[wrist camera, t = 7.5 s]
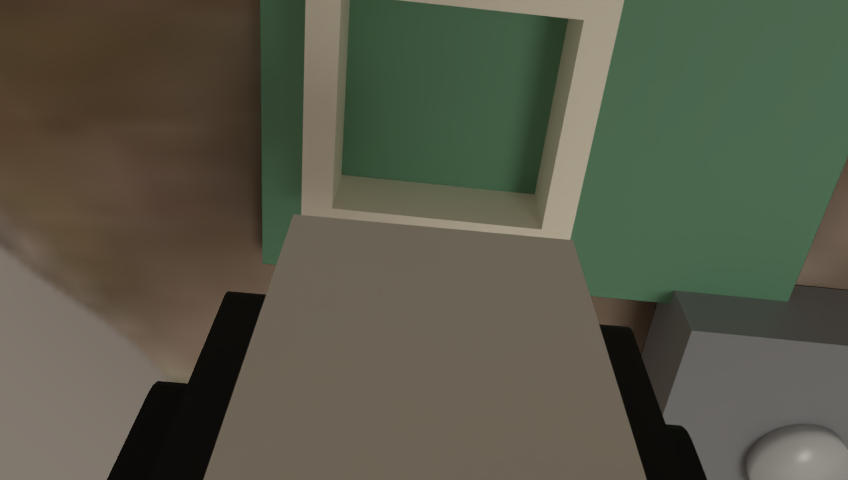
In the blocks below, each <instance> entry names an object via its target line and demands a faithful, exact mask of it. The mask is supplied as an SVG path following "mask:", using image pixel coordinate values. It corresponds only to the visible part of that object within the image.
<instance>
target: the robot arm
mask: <svg viewBox="0 0 848 480" xmlns="http://www.w3.org/2000/svg"><path fill="white" fill-rule="evenodd" d="M265 297H266V295H263V294H252V293H241V292H230V291H228V292H227V293H226V294H225V296H224V298H223V301H222V303H221V306H220V308H219V310H218V313H217V315H216V317H215V320H214V322H213V325H212V327H211V329H210V332H209V334H208V337H207V339H206V341H205V344H204V346H203V349H202V351H201V353H200V356H199V358H198V361H197V363H196V365H195V368H194V370H193V373H192V375H191V377H190V380H189V382H188V384H185V383H174V382H162V381H158V382H156V383H155V384H154V385H153V386H152V388H151V389H150V391H149V393H148V395H147V397H146V399H145V401H144V403H143V405H142V407H141V409H140V412H139V414H138V416H137V418H136V420H135V422H134V424H133V426H132V428H131V431H130V432H129V435H128V437H127V439H126V441H125V443H124V445H123V447H122V449H121V451H120V454H119V456H118V458H117V460H116V462H115V464H114V466H113V468H112V470H111V472H110V474H109V477H108V479H107V480H203V479H204V476H205V473H206V470H207V467H208V464H209V462H210V459H211V456H212V453H213V450H214V447H215V444H216V441H217V438H218V435H219V432H220V429H221V426H222V423H223V420H224V417H225V414H226V411H227V409H228V406H229V403H230V400H231V397H232V394H233V391H234V388H235V385H236V382H237V379H238V376H239V373H240V370H241V367H242V364H243V361H244V358H245V355H246V353H247V350H248V347H249V344H250V341H251V338H252V335H253V332H254V329H255V326H256V323H257V320H258V317H259V314H260V311H261V308H262V305H263V302H264V300H265ZM599 326H600V329H601V332H602V336H603V339H604V342H605V345H606V349H607V352H608V355H609V358H610V362H611V365H612V368H613V371H614V375H615V378H616V381H617V385H618V388H619V391H620V394H621V398H622V401H623V404H624V407H625V411H626V414H627V417H628V420H629V424H630V427H631V430H632V433H633V437H634V440H635V443H636V446H637V450H638V453H639V456H640V459H641V463H642V466H643V469H644V472H645V476H646V479H647V480H707V478H706V475H705V472H704V470H703V467H702V465H701V462H700V460H699V457H698V454H697V452H696V449H695V447H694V444H693V442H692V439H691V437H690V435H689V433H688V432H687V430H686V429H685V428H684V427H683V426H681V425H670V424H665V421H664V418H663V415H662V412H661V410H660V407H659V404H658V401H657V398H656V396H655V393H654V390H653V387H652V385H651V382H650V379H649V376H648V373H647V371H646V368H645V365H644V362H643V359H642V357H641V354H640V351H639V348H638V346H637V343H636V340H635V337H634V334H633V332H632V330H631V328H629V327H623V326H612V325H600V324H599Z"/></svg>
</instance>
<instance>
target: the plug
mask: <svg viewBox="0 0 848 480" xmlns="http://www.w3.org/2000/svg"><path fill="white" fill-rule="evenodd" d="M203 480H647V479H646V476H645V472H644V469H643V466H642V463H641V459H640V456H639V453H638V450H637V446H636V443H635V440H634V437H633V433H632V430H631V427H630V424H629V420H628V417H627V414H626V411H625V407H624V404H623V401H622V398H621V394H620V391H619V388H618V385H617V381H616V378H615V375H614V371H613V368H612V365H611V362H610V358H609V355H608V352H607V349H606V345H605V342H604V339H603V336H602V332H601V329H600V326H599V323H598V319H597V316H596V313H595V310H594V306H593V303H592V300H591V297H590V293H589V290H588V287H587V284H586V280H585V277H584V274H583V271H582V267H581V264H580V261H579V258H578V254H577V251H576V248H575V245H574V241H573V240H566V239H555V238H544V237H534V236H523V235H512V234H501V233H490V232H480V231H469V230H458V229H447V228H437V227H426V226H415V225H404V224H393V223H383V222H372V221H361V220H350V219H340V218H329V217H318V216H307V215H297V214H293V217H292V220H291V223H290V226H289V229H288V232H287V235H286V238H285V241H284V244H283V246H282V249H281V252H280V255H279V258H278V261H277V264H276V267H275V270H274V273H273V276H272V279H271V282H270V285H269V288H268V291H267V294H266V297H265V300H264V302H263V305H262V308H261V311H260V314H259V317H258V320H257V323H256V326H255V329H254V332H253V335H252V338H251V341H250V344H249V347H248V350H247V353H246V355H245V358H244V361H243V364H242V367H241V370H240V373H239V376H238V379H237V382H236V385H235V388H234V391H233V394H232V397H231V400H230V403H229V406H228V409H227V411H226V414H225V417H224V420H223V423H222V426H221V429H220V432H219V435H218V438H217V441H216V444H215V447H214V450H213V453H212V456H211V459H210V462H209V464H208V467H207V470H206V473H205V476H204V479H203Z"/></svg>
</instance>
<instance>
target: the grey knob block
mask: <svg viewBox="0 0 848 480" xmlns="http://www.w3.org/2000/svg"><path fill="white" fill-rule="evenodd" d="M641 357H642V359H643V362H644V365H645V368H646V371H647V373H648V376H649V379H650V382H651V385H652V387H653V390H654V393H655V396H656V398H657V401H658V404H659V407H660V410H661V412H662V415H663V418H664V421H665V424H670V425H681V426H683V427H684V428H685V429H686V430H687V432H688V433H689V435H690V437H691V439H692V442H693V444H694V447H695V449H696V452H697V454H698V457H699V460H700V462H701V465H702V467H703V470H704V472H705V475H706V478H707V480H848V290H839V289H829V288H819V287H809V286H799V285H795V286H794V288H793V291H792V293H791V295H790V298H789V300H788V302H787V301H777V300H767V299H757V298H747V297H737V296H726V295H716V294H706V293H696V292H686V291H676V290H674V293H673V296H672V300H671V303H670V304H668V303H658V302H657V305H656V309H655V312H654V315H653V318H652V322H651V325H650V328H649V331H648V335H647V338H646V341H645V344H644V348H643V351H642V354H641Z"/></svg>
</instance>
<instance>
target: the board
mask: <svg viewBox="0 0 848 480" xmlns="http://www.w3.org/2000/svg"><path fill="white" fill-rule="evenodd" d="M260 37H261V146H262V255H263V263H264V264H274V265H276V264H277V261H278V258H279V255H280V252H281V249H282V246H283V244H284V241H285V238H286V235H287V232H288V229H289V226H290V223H291V220H292V217H293V214H297V215H307V216H318V217H329V218H340V219H350V220H361V221H372V222H383V223H393V224H404V225H415V226H426V227H437V228H447V229H458V230H469V231H480V232H490V233H501V234H512V235H523V236H534V237H544V238H555V239H566V240H573V241H574V245H575V248H576V251H577V254H578V258H579V261H580V264H581V267H582V271H583V274H584V277H585V280H586V284H587V287H588V290H589V293H590V296H597V297H607V298H617V299H628V300H638V301H648V302H658V303H668V304H670V303H671V300H672V296H673V293H674V290H676V291H686V292H696V293H706V294H716V295H726V296H737V297H747V298H757V299H767V300H777V301H787V302H788V300H789V298H790V295H791V293H792V291H793V288H794V286H795V283H796V281H797V278H798V276H799V274H800V271H801V269H802V266H803V264H804V261H805V259H806V257H807V254H808V252H809V249H810V247H811V244H812V242H813V240H814V237H815V235H816V232H817V230H818V228H819V225H820V223H821V220H822V218H823V215H824V213H825V211H826V208H827V206H828V203H829V201H830V198H831V196H832V194H833V191H834V189H835V186H836V184H837V181H838V179H839V177H840V174H841V172H842V169H843V167H844V164H845V162H846V160H847V157H848V0H260Z"/></svg>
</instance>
